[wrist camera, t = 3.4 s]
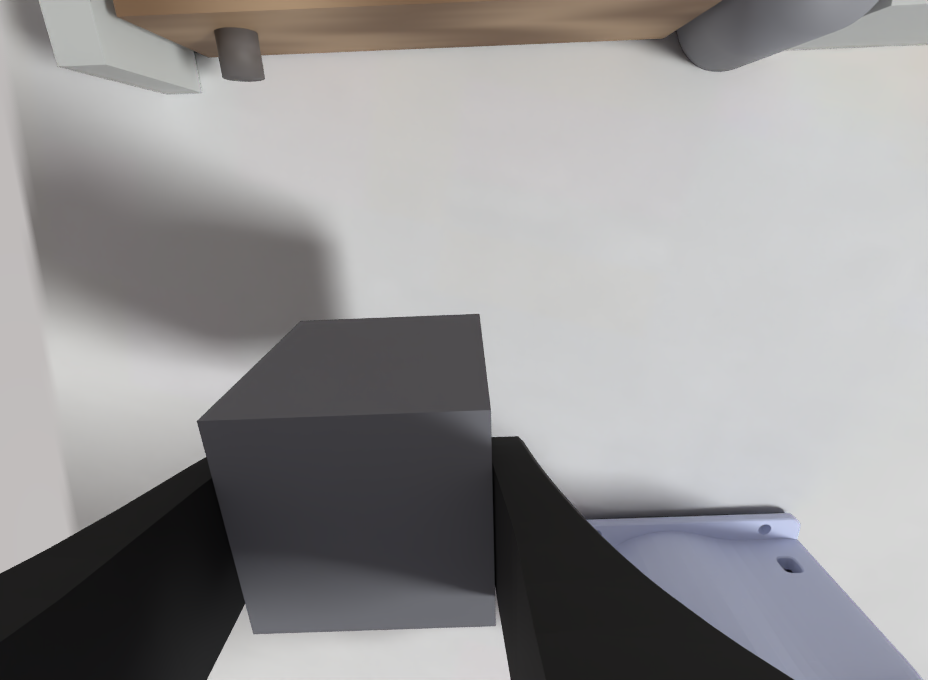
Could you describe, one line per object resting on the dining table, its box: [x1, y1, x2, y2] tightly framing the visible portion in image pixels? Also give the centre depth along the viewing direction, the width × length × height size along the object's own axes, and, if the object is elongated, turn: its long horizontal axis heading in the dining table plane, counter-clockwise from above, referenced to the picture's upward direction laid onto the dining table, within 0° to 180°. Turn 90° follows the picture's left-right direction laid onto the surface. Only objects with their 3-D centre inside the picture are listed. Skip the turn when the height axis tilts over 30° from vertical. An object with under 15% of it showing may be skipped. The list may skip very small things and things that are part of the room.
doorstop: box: [197, 314, 496, 634], centre depth 10 cm, size 4×4×5 cm
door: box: [113, 0, 722, 82], centre depth 12 cm, size 14×2×4 cm, turn 92°
